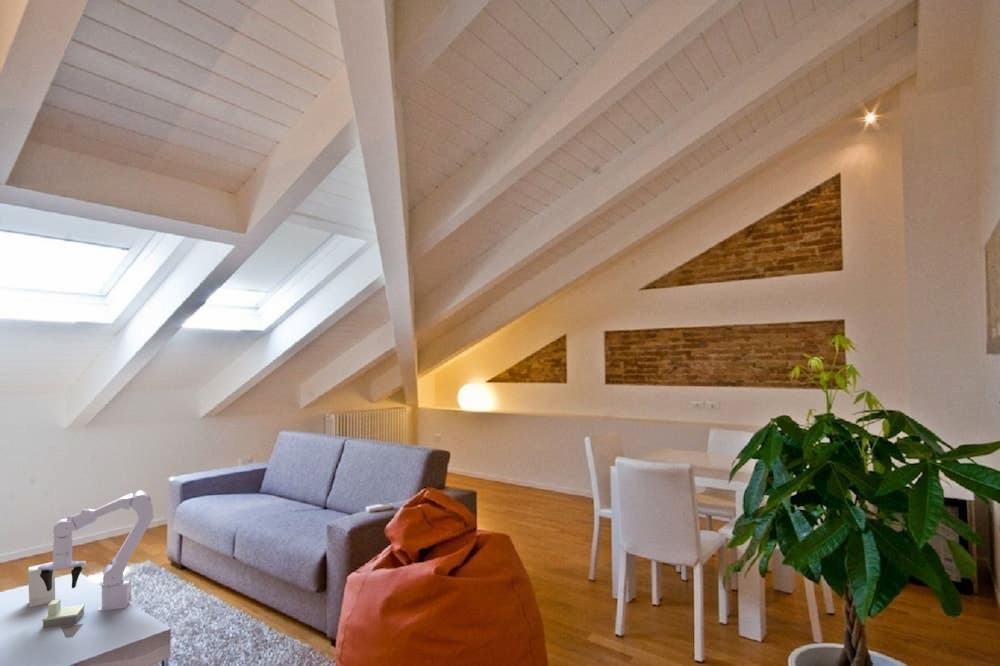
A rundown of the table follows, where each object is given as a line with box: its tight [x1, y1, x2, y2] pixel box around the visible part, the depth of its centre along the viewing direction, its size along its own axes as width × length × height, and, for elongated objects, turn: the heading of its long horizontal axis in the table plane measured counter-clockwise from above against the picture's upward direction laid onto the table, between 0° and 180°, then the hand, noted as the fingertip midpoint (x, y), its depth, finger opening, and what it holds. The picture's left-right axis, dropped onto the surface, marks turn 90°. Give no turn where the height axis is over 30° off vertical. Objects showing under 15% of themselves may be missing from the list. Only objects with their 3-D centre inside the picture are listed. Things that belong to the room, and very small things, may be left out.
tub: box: [42, 607, 85, 629], centre depth 208 cm, size 10×8×3 cm
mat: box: [60, 623, 84, 639], centre depth 198 cm, size 12×10×1 cm
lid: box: [41, 598, 86, 622], centre depth 208 cm, size 10×8×5 cm
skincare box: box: [27, 561, 56, 608], centre depth 223 cm, size 8×6×15 cm
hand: (61, 588), depth 212 cm, fingers open, 7 cm apart
